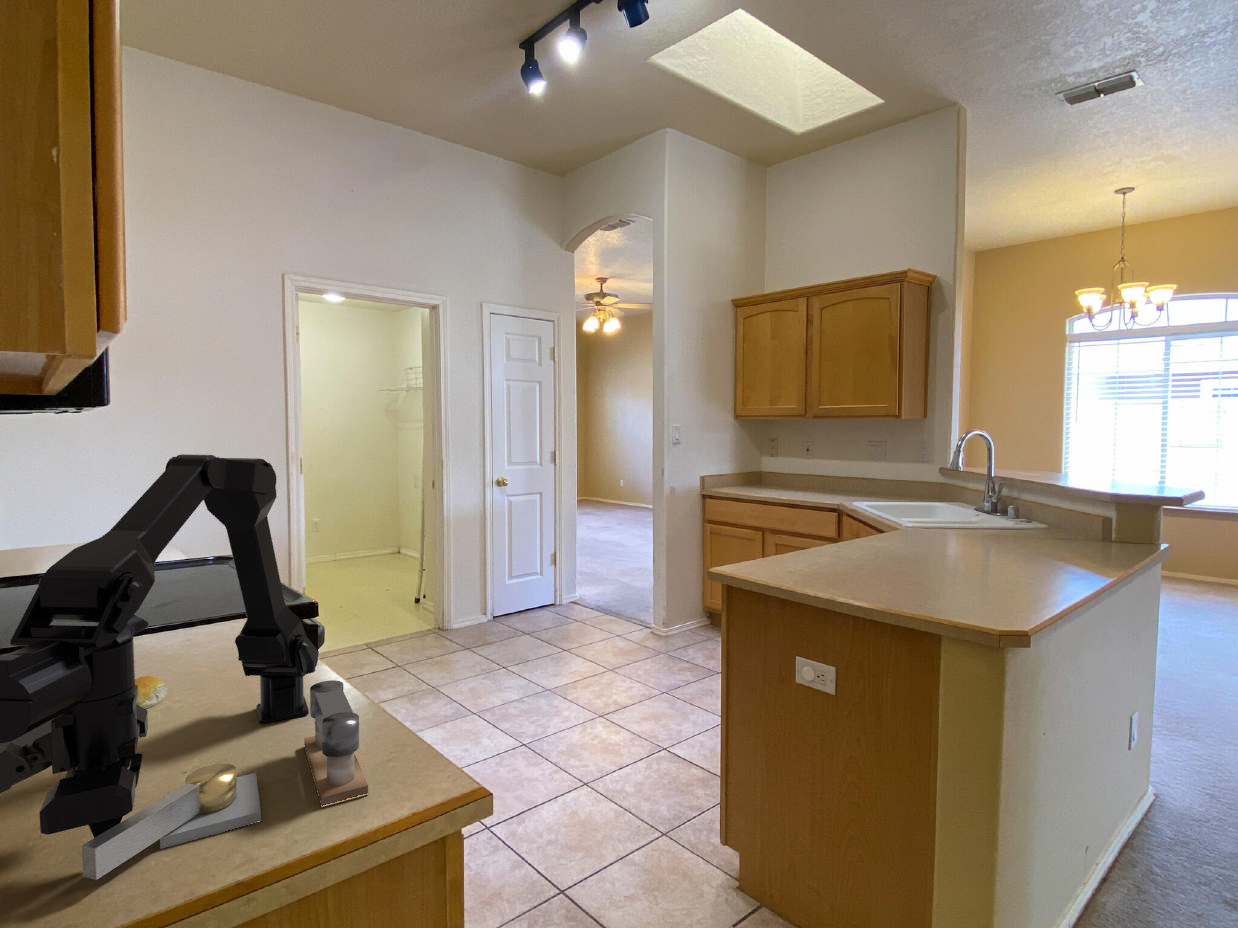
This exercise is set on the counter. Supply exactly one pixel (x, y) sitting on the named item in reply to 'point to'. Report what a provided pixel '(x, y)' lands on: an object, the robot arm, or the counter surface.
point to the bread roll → (150, 691)
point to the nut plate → (220, 816)
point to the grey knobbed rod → (334, 719)
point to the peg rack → (334, 772)
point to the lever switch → (160, 818)
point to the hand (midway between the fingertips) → (105, 843)
